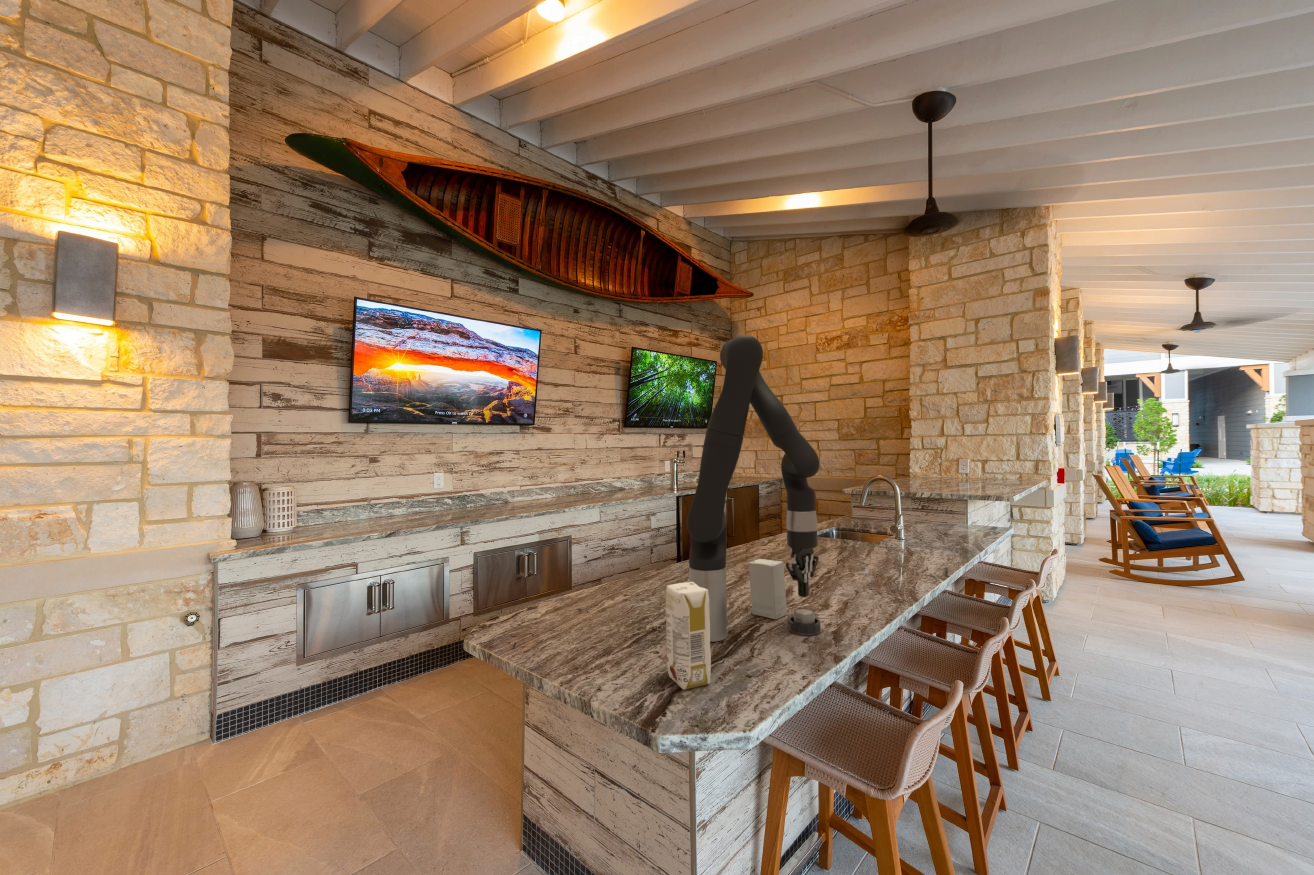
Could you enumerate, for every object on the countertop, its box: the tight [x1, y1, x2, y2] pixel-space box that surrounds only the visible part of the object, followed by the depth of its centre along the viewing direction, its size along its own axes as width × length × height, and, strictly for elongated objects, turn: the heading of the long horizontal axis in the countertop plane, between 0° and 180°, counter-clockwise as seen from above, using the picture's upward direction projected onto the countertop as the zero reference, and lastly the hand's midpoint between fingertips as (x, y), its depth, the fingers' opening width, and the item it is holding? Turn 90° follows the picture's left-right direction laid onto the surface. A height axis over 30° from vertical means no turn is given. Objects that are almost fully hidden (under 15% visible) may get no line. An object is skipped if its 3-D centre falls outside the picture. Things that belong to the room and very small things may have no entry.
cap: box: [793, 608, 816, 625], centre depth 133 cm, size 6×5×4 cm
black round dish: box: [787, 615, 821, 637], centre depth 133 cm, size 8×8×3 cm
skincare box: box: [748, 558, 788, 620], centre depth 146 cm, size 8×6×15 cm
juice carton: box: [665, 581, 712, 690], centre depth 107 cm, size 8×9×19 cm
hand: (803, 596), depth 133 cm, fingers closed
